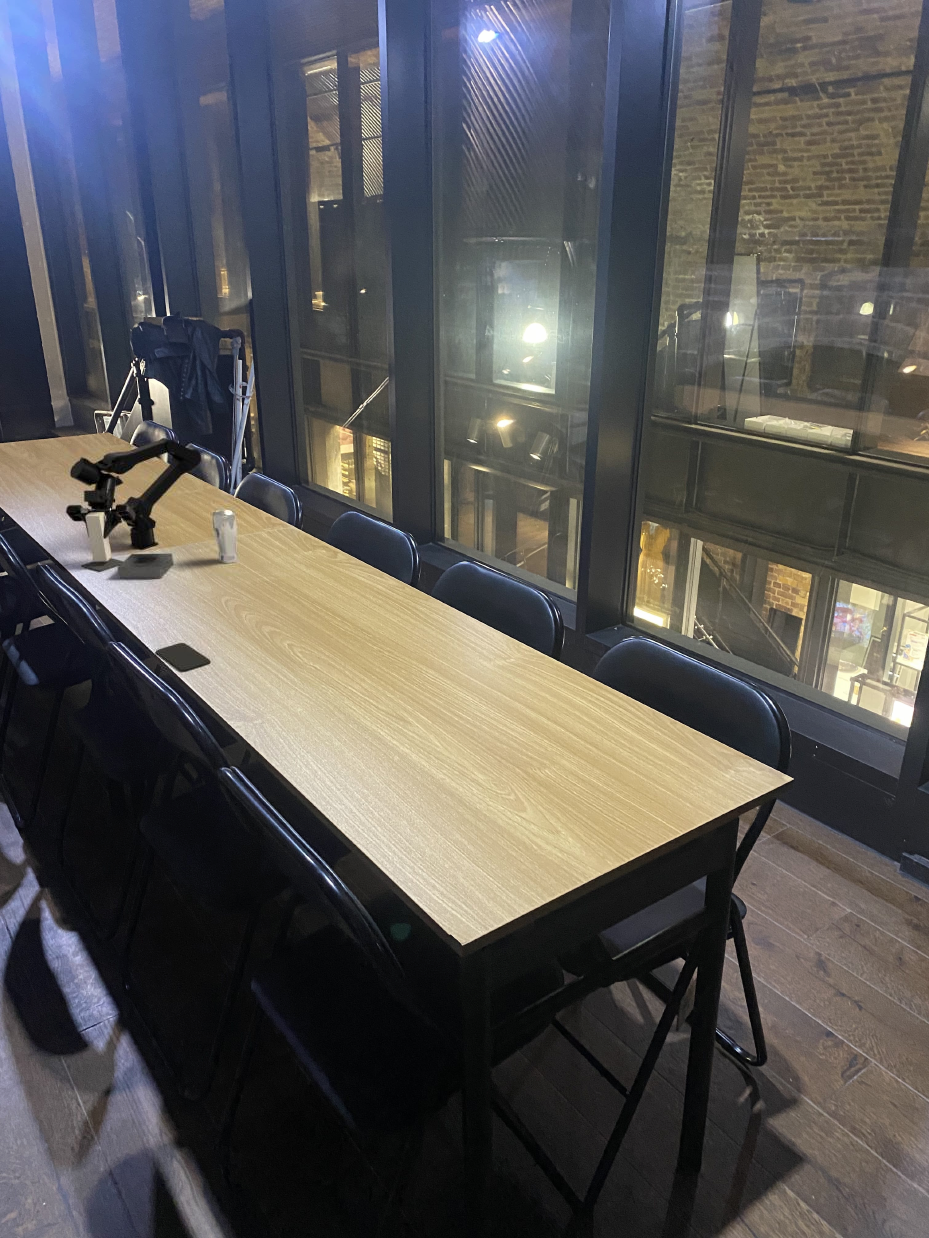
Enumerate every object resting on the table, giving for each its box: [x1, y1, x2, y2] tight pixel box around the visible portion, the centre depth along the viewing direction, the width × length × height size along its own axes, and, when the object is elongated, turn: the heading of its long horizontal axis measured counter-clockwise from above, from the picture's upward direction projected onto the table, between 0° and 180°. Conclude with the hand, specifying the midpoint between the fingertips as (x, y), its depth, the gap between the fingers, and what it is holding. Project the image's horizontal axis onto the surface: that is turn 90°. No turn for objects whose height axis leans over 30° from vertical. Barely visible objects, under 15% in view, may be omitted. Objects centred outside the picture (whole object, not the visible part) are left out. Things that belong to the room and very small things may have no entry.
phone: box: [155, 642, 212, 673], centre depth 203 cm, size 7×1×15 cm
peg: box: [86, 512, 113, 561], centre depth 261 cm, size 4×4×14 cm
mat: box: [80, 557, 125, 573], centre depth 264 cm, size 9×9×1 cm
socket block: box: [117, 553, 174, 580], centre depth 258 cm, size 12×12×4 cm
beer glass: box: [211, 509, 240, 564], centre depth 265 cm, size 7×7×15 cm
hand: (96, 538), depth 259 cm, fingers closed on peg, 4 cm apart
